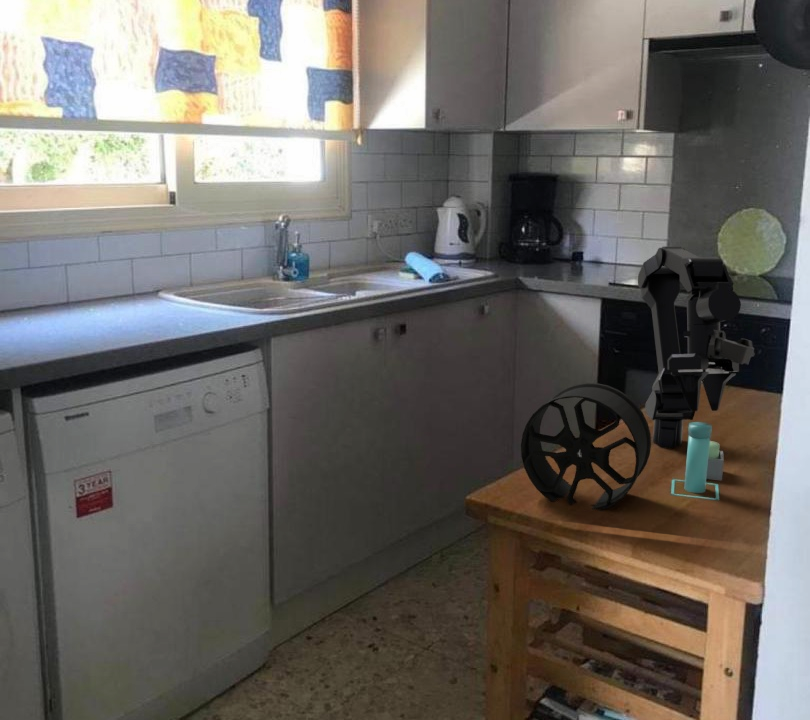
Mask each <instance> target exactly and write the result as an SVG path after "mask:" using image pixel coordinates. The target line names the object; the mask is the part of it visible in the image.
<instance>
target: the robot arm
mask: <svg viewBox="0 0 810 720" xmlns="http://www.w3.org/2000/svg"><path fill="white" fill-rule="evenodd" d="M732 279H733V278H731V276H730V274H729V271H728V268H727V266H726V264H725V263H724V261H723V259H722V258H721V257H701V256H698V255H696V254H694V253H693V252H690V251H687V250H686V249H685V247H682V246H661V247H658V249H657V251H656V253H655V254H654V255H652V256H651V257H649V258H647V260H645V261H644V262H643V263H642V266H641V268H640V270H639V273H638V276H637V285H638V288H639V289H640V293H641V298H642V299H643V301H644V302H645V303H646V304H647V306H648V307H649V308H650V310H651V316H652V326H653V332H654V333H653V334H654V336H653V337H654V345H655V351H656V352H655V353H656V363H657V368H658V374H657V376H656V379H655V380H654V382H653V385H651V386H652V387H651V389H652V391H651V393H650V395H649V396H648V398H647V400H646V402H645V404H644V407H645V415H646V416H647V417H649V419H650V420H651V421H653V428H652V431H653V432H652V436H651V439H652V443H653V444H654V445H657V446H658V448H661V449H662V448H664V449H671V450H672V449H675V448H676V447H680V446H682V441H683V426H684V420H686V421H687V420H690V421H694V417H695V413H696V412H698V410H699V406H700V405H699V404H700V397H701V388H702V385H703V388H704V391H705V395H706V398H707V401H708V404H709V407H710V410H711V411H712V412H716V411H717V412H718V411H719V408H720V404H721V401H722V397H723V394H724V390H725V388H726V384H727V382H729V380H731V379H732V378H733V377H735V376H736V375H737V372H740V365H744V364H745V365H747V366H748V365H749V363H750V361H751V358H752V357H755V354H756V353H755V347H753V346H754V345H753V341H752V340H749V339H746V338H740V339H739V340H737V341H733V340H729V339H727V336H726V335H727V334H726V332H725V331H724V330H721V323H722V322H727V321H731V320H733V319H735V318H736V317H737V316H738V314H739V313H740V311H741V308H742V307H741V305H742V304H741V302H742V301H741V300H740V297H739V295H738V294H737V293H736V292H735V290H734V281H733V280H732ZM681 286H683V287H684V289H685V290H686V292H687V293H689V294H688V295H687V297H686V298H685V300H684V301H685V303H686V315H687V317H686V321H687V323H686V324H687V326H686V327H687V328H686V330H684V331H683V332H682V334H683V337H684V338H687V353H685V352H684V353H681V347H680V341H679V340H680V339H679V331H678V323H677V322H678V321H677V315H676V314H677V313H676V308H675V307H676V306H675V301H676V300H677V298H678V297H679V294H680V292H681V291H682V290H681ZM735 372H736V373H735Z"/></svg>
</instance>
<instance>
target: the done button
mask: <svg viewBox="0 0 810 720" xmlns="http://www.w3.org/2000/svg"><path fill="white" fill-rule="evenodd" d="M720 446H721V444H720V443H719V442H716V441H712V440H710V445H709V456H708V458H714V459H718V458H719V451H720V448H721V447H720Z"/></svg>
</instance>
